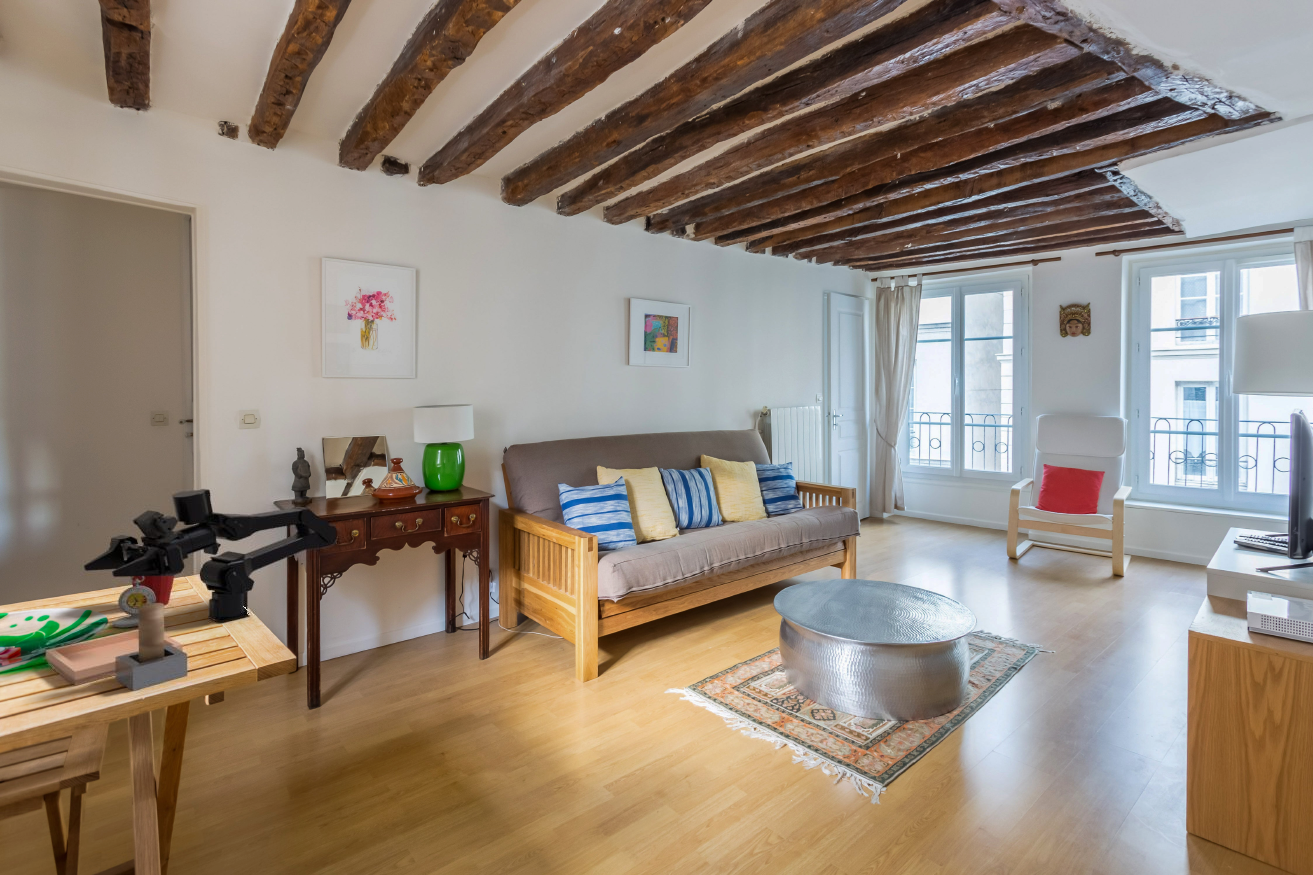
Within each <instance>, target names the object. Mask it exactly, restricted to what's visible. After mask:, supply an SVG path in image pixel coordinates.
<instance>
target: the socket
mask: <svg viewBox="0 0 1313 875" xmlns="http://www.w3.org/2000/svg"><path fill="white" fill-rule="evenodd" d="M115 668H116V675H115V680H116V681H118V682H119V683H121V684H122V685H123V686H125V687H126V688H128V689H129V690H130V691H132V692H134V691H139V690H142V689H145V688H148V687H152V686H155V685H160V684H162V683H166V682H169V681H174V680H176V679H179V678H183V677H187V676H188V653H186V652H185V651H184V650H183V651H181V650H179V649H177V648H175V647H174V646H172V645H170V644H166V645H164V657H163V658H159V659H155V660H151V661H148V662H144V663H139V651H138V652H134V653H130V654H125V655H121V656H117V657H115Z"/></svg>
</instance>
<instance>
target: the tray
mask: <svg viewBox="0 0 1313 875" xmlns="http://www.w3.org/2000/svg"><path fill="white" fill-rule="evenodd" d="M166 644H170V645H172V646H174V647H175V648H177V649H179V650H181V651H183V652H184V650H183V647H184V646H183V645H184V644H183V643H181V642H180V641H178V640H176V639H173V638H171V637H170V636H167V635H166V634H164V645H166ZM138 651H139V628H138V629H134V630H130V631H125V632H121V633H116V634H112V635H108V636H103V637H98V638H94V639H89V640H84V641H81V642H75V643H72V644H68V645H62V646H59V647H54V648H50V649H46V650H45V661H46V660H47V662H48V663H49V664H50V666H51V667H52V669H53V670H54V669H55V670H56V671H55V670H54V671H55V672H57V674H59V675H60V676H62V677H64V678H65V679H66V680H67V681H68V682H70V683H71V684H72V685H73V686H75V687H77V686H79V685H83V684H86V683H87V684H88V683H91V682H95V681H98V680H103V679H106V678H109V677H114V676H116V668H115V657H117V656H121V655H125V654H130V653H134V652H138ZM50 666H49V667H50ZM51 667H50V668H51Z"/></svg>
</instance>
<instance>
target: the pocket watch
mask: <svg viewBox="0 0 1313 875" xmlns="http://www.w3.org/2000/svg"><path fill="white" fill-rule="evenodd" d="M133 577H135V576H132V577H129V578H130V579H129V580H130V582H131V583H132V582H133V583H135V584H136V586H133V585H132V586H131V587H128V588H126V589H125V590H124V591H123V592H121V594H120V596H119V597H118V601H117V603H118V607H119V609H120V610H121V611H122V612H123V613H124V614H126V615H127V616H123V617H120V618H117V619H115V620H114V621H112V626H113V627H115V628H132V627H139V626H138V608H139V607H140V606H142V605H146V604H152V603H155V601H156V597H155V594H154V592H153V591H152V590H151V589H149V588H148V587H145V586H139V585H138V584H139V583H140V582H141V581H143V580H144V576H141V577H143V579H142V580H141V581H139V580H138V579H136V581H132V578H133ZM143 596H146V597H145V598H147V599H145V598H144V597H143ZM141 599H142V600H141ZM146 600H147V603H143V601H144V602H145V601H146Z"/></svg>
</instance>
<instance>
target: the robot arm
mask: <svg viewBox="0 0 1313 875" xmlns="http://www.w3.org/2000/svg"><path fill="white" fill-rule="evenodd" d="M171 498H172V502H173V508H174V513H175V515H166V516H165V514H164V513H160V512H159V511H154V510H149V509H148V510H146V511H145V512H143V513H141V514H140V515H138V516H137V517H135V518H134V519H132V522H133V524H134V525H136V526H137V527H138V529H139V530H140V532H141V533H142V534H143V535H142V536H140V540H141V543H143V544H139V543H138V538H135V537H134V536H130V535H126V534H119V535H117V536H113V537H111V539H110V542H109V548H108V550H106V551H105V552H104V553H102V554H100V555H99V556H97V557H96V558H94V559H92V560H90V561H89V562H88V563H87V562H86V563H85V564H84V565H83V568H84V571H85V572H88V571H89V572H90V571H107V570H112V571H111V573H112V577H115V578H116V577H117V578H118V577H119V578H120V577H121V578H124V577H129V578H131V576H174V577H175V576H177V575H179V574H182V572H183V570H184V569H185V567H186V566H185V562H184V560H185V559H186V560H187V559H189V555H191V554H194V553H197V552H200V551H202V550H203V553H204V554H207V555H214V556H210V557H209V558H210V559H209V560H208V561H206V562H204V563H203V564H202V567H201V568H200V570H199V578H200V581H201V582H202V583H203V584H204V585H205V588H206V589H207V591H212V592H211V598H210V599H209V600H208V601H209V602H208V603H209V604H208V606H209V608H208V618H209V619H212V620H213V621H216V622H218V623H225V622H230V621H233V620H237V618H239V619H242V617H243V618H247V617H249V616H248V614H249V613H250V612H249V611H247V610H246V609H248V610H249V608H248V607H249V606H248V602H249V600H248V596H249V594H248V593H249V592H250V591H253V588H254V585H255V580H254V579H252V578H251V577H250V575H252V574H253V572H255V571H258V570H261V569H263V568H264V567H267V566H270V565H272V564H274V563H277V562H279V561H282V560H284V559H287V558H289V557H291V556H294V555H296V554H299V553H302V552H304V551H310V550H317V549H318V550H319V549H324V548H329V547H332V546H333V545H335V544H336V541H337V539H338V530H337V529H338V528H336V526H335V525H333V524H330V523H329V522H327V521H326V520H324V519H323V518H322V517H320V516H318V515H317V514H315V513H314V512H313V511H312V510H311V509H310V508H308V507H301V506H294V507H292V508H286V509H278V510H273V511H266V512H259V513H258V512H257V513H253V514H244V513H243V514H240V513H220V512H214V510H213V506H212V499H211V489H206V488H202V489H196V490H188V491H179V492H176V493H174V494H172V495H171ZM179 522H180V523H183V526H187V527H183V528H181V529H177V530H174V529H175V528H176V526H177V525H178V523H179ZM288 526H294V529H295V530H296V531H297V532H296V533H295V534H293V535H291V536H289V537H286V538H283V539H281V540H279V541H276V542H273V543H271V544H270V543H269V544H268V545H265V546H262V547H260V548H257V549H254V550H251V551H249V552H246V553H242V552H235V551H229V550H227V551H225V552H223V553H221V554H219V555H217V554H218V552H219V550H220V547H221V543H219V542H218V541H217V539H218V540H223V541H229V542H238V541H240V540H242V539H243V540H244V539H247V538H248V537H251V536H253V535H254V534H255V533H258V532H261V531H267V530H273V529H278V528H284V527H288ZM243 606H244V607H246V609H245V608H244V607H243ZM247 612H249V613H248V614H247ZM246 616H247V617H246Z"/></svg>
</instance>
